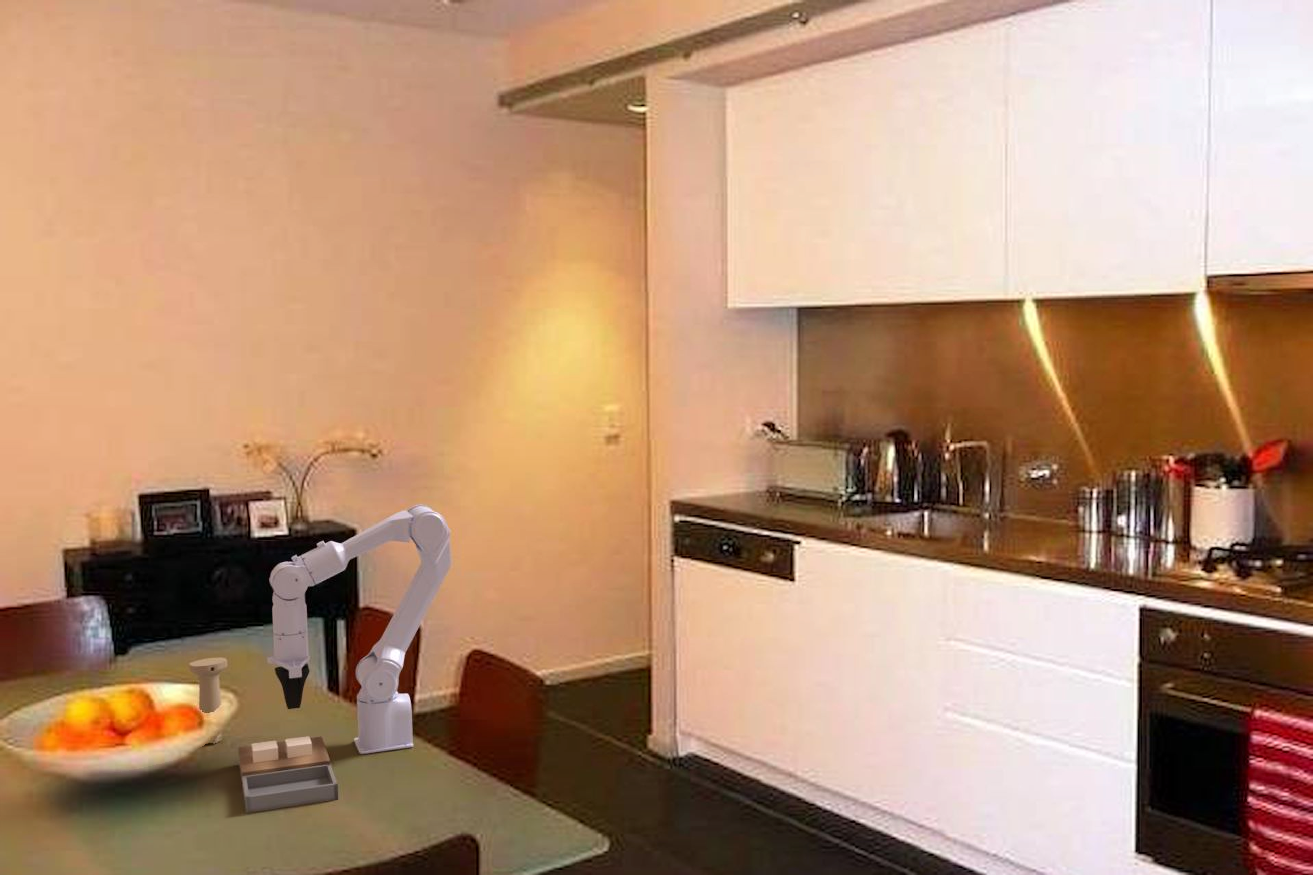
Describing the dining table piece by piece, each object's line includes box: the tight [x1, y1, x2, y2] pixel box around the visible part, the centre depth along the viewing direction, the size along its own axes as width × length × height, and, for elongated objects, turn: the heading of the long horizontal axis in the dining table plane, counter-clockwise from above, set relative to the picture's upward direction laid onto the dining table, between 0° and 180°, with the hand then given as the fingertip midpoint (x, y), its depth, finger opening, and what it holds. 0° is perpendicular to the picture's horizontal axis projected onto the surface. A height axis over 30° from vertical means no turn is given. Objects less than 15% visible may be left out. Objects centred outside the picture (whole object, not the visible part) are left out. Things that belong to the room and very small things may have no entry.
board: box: [237, 736, 331, 789], centre depth 209 cm, size 14×13×3 cm
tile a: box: [284, 735, 312, 758], centre depth 209 cm, size 4×4×2 cm
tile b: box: [251, 740, 278, 763], centre depth 207 cm, size 4×4×2 cm
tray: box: [241, 763, 339, 814], centre depth 198 cm, size 14×10×2 cm
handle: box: [188, 657, 228, 744], centre depth 223 cm, size 5×6×15 cm
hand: (293, 707), depth 215 cm, fingers closed
